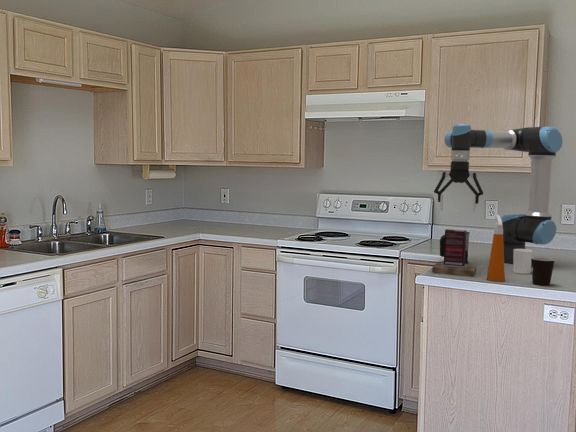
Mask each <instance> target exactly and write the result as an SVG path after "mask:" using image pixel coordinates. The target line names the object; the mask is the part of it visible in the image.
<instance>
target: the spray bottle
mask: <svg viewBox="0 0 576 432" xmlns="http://www.w3.org/2000/svg"><path fill="white" fill-rule="evenodd" d="M505 274H506V272H505V262H504V245H503V225H502V217H500V214H495V225H494V229H493V237H492V243H491V250H490V258H489V261H488V267H487V274H486V280H488V281H490V282H491V281H492V282H497V281H499V282H500V281H501V282H505V281H506V275H505Z"/></svg>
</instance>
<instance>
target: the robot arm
mask: <svg viewBox="0 0 576 432" xmlns="http://www.w3.org/2000/svg"><path fill="white" fill-rule="evenodd" d="M444 144H445V147H448V148H451V152H450V160H451V161H450V168H449V169H450V171H449V172H447V171H443V172H442V175H441V178H440V179H439V182H438V183H437V185H436V187H434V190H433V193H434V194H437V202H438V203H439V205H440V206H439V211H443V208H444V206H443V205H444V194H443V192H445V191H446V190H447V188H449V186H450V185H452V183H454V184H455V183H457V184H458V183H459V184H464V183H465V185H467V187H468V188H469V190H471V192H472V193H473V194H474V196H473V202H472V203H473V204H472V205H473V206H472V213H475V212H476V205H478V204H479V198H480V197H481V196H483V195H484V190H483V189H482V187H481V185H480V183H479V180H478V178H477V177H478V176H477V172H471V173H470V172H469V171H470V170H469V169H470V162H469V161H470V153H471V148H473V149H476V148H478V149H479V148H480V149H490V148H491V149H500V148H501V149H504V150H506V151H515V152H523V153H528V154H527V155H528V157H529V159H530V160H531V163H530V164H531V165H530V179H529V181H530V182H529V193H528V194H529V195H528V211H527V212H525V213H523V214H521V213H519V214H518V213H517V214H505V215H504V214H503V215H502V217H501V220H502V225H503V245H504V264H513V249H527V248H526V243H530V244H535V245H548V244H550V243H551V242H552V241H553V239H554V238H555V236H556V233H557V225H556V222H555V221H554V220H552V214H550V212H549V205H550V192H551V191H550V189H551V188H550V187H551V176H552V175H551V173H552V162H553V161H552V160H554V159H555V158H556V154H557V153H558V152H559V151H560V150H561V148H562V147H563V135H562V133H561V132H560V131H559V130H558V128H556V127H554V126H547V125H546V126H531V127H530V126H529V127H521V128H515V129H505V130H504V131H490V130H485V129H472V125H471V124H469V123H457V124H454V125H453V126H452V130H451V131H448V132H447V133H446V134H445V136H444ZM448 176H449V177H450V179H449V180H448V181H447V182H446V184H444V185H443V183H444V181H445V179H446V178H448ZM469 178H471V179H473V181H474V183H475V186H476V188H477V190H478V191H477V190H476V188H475V187H474V186H473V184H472V183H471V182H470V181H469V180H468V179H469ZM442 185H443V187H442ZM441 187H442V188H441ZM440 188H441V189H440Z"/></svg>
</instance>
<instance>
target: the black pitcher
mask: <svg viewBox="0 0 576 432" xmlns="http://www.w3.org/2000/svg"><path fill="white" fill-rule="evenodd" d="M470 234H471V232H470V231H467V233H466V257H465V265H467V264H469V260H468V258H469V257H468V256H469V243H470V242H469V241H470ZM439 238H440V239H439V256H440V257H441V258H444V242H445V234H443V235H442V236H441V237H439Z"/></svg>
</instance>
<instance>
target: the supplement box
mask: <svg viewBox="0 0 576 432" xmlns="http://www.w3.org/2000/svg"><path fill="white" fill-rule="evenodd" d="M467 232H468V231H467V230H464V229H463V230H461V229H460V230H459V229H445V230H444V235H445V242H444V257H443V264H444V266H445V267H456V268H464V267H465V265H466V264H465V257H466V233H467Z"/></svg>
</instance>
